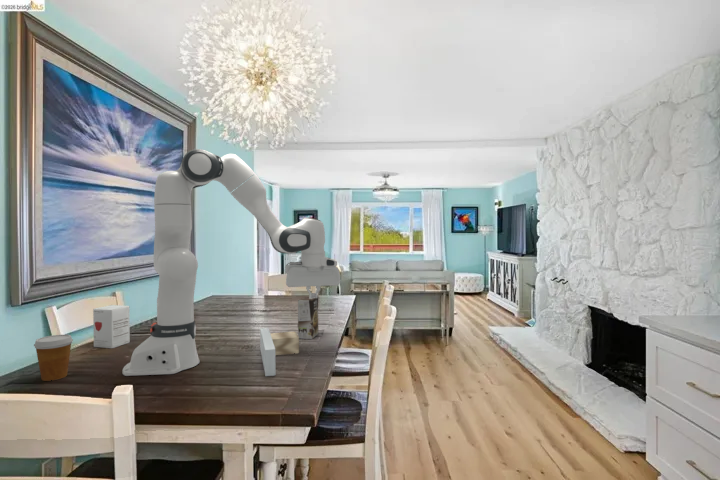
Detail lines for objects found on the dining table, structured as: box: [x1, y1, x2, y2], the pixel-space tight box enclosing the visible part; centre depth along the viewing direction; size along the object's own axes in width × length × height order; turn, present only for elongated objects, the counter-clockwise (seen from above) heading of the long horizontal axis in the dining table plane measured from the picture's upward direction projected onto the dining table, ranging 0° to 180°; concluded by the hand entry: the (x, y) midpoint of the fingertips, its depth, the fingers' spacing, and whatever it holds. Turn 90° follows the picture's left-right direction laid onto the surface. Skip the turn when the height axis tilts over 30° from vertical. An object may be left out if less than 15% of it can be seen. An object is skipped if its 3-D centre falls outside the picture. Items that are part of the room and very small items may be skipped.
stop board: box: [259, 327, 277, 377], centre depth 138 cm, size 3×30×8 cm, turn 17°
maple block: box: [270, 331, 300, 356], centre depth 150 cm, size 10×9×6 cm
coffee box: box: [297, 296, 319, 340], centre depth 171 cm, size 9×6×16 cm
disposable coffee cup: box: [33, 334, 74, 382], centre depth 124 cm, size 10×10×12 cm
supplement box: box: [92, 304, 131, 349], centre depth 160 cm, size 9×9×15 cm
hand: (313, 298), depth 153 cm, fingers closed
